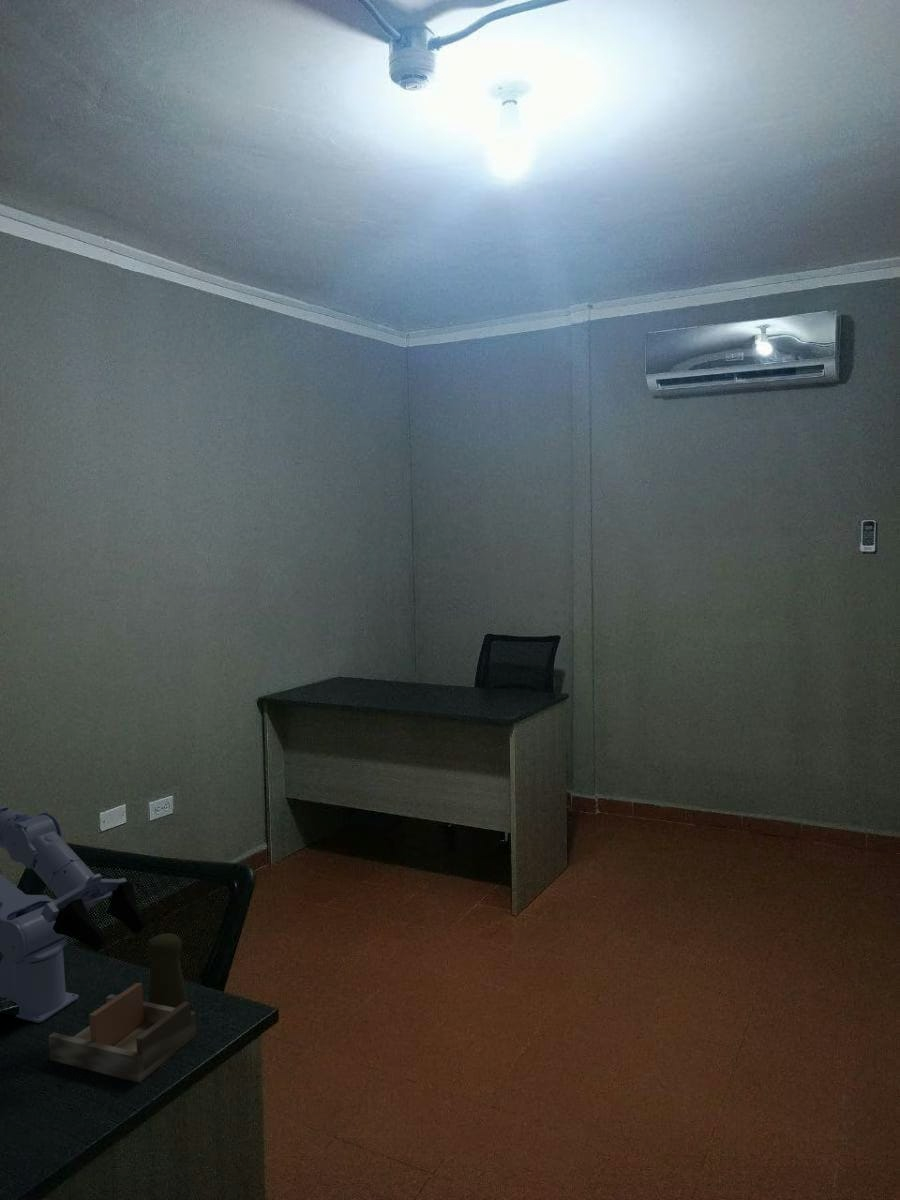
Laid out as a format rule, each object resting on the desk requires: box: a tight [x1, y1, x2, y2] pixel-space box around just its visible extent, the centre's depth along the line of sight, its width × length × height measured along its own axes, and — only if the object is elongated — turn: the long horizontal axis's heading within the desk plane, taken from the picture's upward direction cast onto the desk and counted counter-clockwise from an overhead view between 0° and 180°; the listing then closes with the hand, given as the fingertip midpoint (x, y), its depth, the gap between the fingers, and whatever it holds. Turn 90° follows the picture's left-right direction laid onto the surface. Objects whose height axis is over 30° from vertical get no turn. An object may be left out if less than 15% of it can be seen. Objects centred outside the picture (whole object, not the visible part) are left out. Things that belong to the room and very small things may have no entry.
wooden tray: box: [48, 993, 198, 1083], centre depth 126 cm, size 16×12×6 cm
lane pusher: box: [88, 982, 144, 1046], centre depth 127 cm, size 1×9×6 cm, turn 158°
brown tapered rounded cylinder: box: [146, 933, 188, 1008], centre depth 138 cm, size 6×6×11 cm
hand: (121, 936), depth 128 cm, fingers open, 7 cm apart
